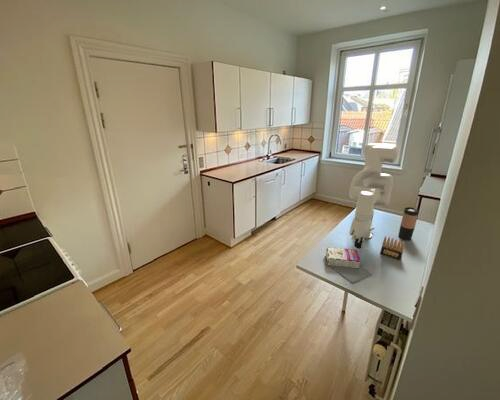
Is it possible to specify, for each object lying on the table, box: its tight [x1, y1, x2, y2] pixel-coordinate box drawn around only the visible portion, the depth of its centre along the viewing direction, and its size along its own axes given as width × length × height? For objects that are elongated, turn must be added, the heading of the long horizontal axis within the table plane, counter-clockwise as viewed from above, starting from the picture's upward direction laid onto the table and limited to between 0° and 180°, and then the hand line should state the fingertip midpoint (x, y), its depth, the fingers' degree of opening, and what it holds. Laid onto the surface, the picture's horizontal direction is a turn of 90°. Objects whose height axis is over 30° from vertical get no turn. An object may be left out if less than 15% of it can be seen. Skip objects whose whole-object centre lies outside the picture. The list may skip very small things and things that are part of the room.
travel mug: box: [398, 207, 420, 241], centre depth 153 cm, size 8×8×20 cm
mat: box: [326, 262, 373, 285], centre depth 128 cm, size 14×18×1 cm
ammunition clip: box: [379, 235, 405, 261], centre depth 136 cm, size 11×2×12 cm, turn 51°
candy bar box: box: [325, 246, 361, 268], centre depth 133 cm, size 11×5×16 cm
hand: (357, 247), depth 126 cm, fingers closed
